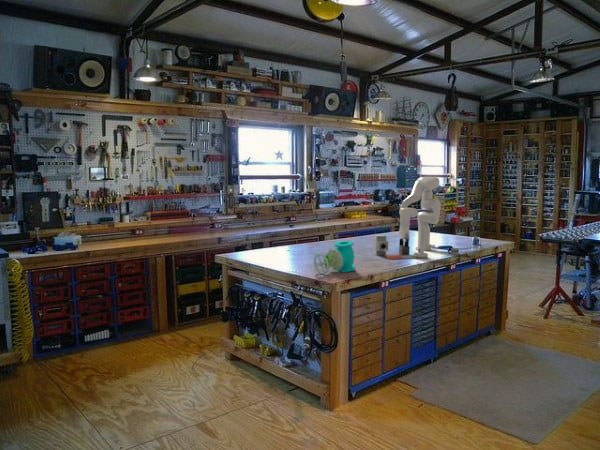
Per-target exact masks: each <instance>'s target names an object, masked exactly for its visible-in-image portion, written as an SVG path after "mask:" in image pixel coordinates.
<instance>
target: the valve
mask: <svg viewBox="0 0 600 450" xmlns="http://www.w3.org/2000/svg"><path fill="white" fill-rule="evenodd" d="M354 244H355V243H354V241H352V240H340V241H336V242H335V243H334V247H335V248H330V249H329V250H328V252H326V254H323V253H321V252H317V253H316V254H315V255H314V257H313V265H314V268H315V270H316V271H317V273H319V274H320V275H324V276H325V275H326V274H328V272H329V270H330V268H331V269H332V270H333V271H337V272H340V271H341V272H340V273H342V272H343V273H347V272H348V273H349V272H354V271H355V270H356V265H354V261H355V252H354V248H353V247H352V246H354ZM336 247H337V248H336ZM320 256H321V257H322V258H323V261H322V260H321V257H320ZM317 258H318V263H317ZM318 267H321V270H322V271H321V270H320V269H319V268H318Z"/></svg>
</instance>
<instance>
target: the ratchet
mask: <svg viewBox="0 0 600 450" xmlns="http://www.w3.org/2000/svg"><path fill="white" fill-rule="evenodd" d="M428 256H429V254H428V253H427V252H425V251H424V249H423V248H418V250H417V252H414V253H413V254H409V255H400V254H399V253H397V254H386V255H384V259H386V260H401V259H403V260H404V259H418V260H419V259H420V260H422V259H423V260H425V259H428Z"/></svg>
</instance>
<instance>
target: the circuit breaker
mask: <svg viewBox="0 0 600 450" xmlns="http://www.w3.org/2000/svg"><path fill="white" fill-rule="evenodd" d="M372 239H373V247H372V251H373V253H372V254H373V255H375V256H385V255H387V253H386V252H389V241H388V240H387V235H384V234H374V235H373V238H372Z"/></svg>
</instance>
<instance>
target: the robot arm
mask: <svg viewBox="0 0 600 450" xmlns="http://www.w3.org/2000/svg"><path fill="white" fill-rule="evenodd" d="M439 185H440V179H439V177H436V176H421V177H419V178H418V179H417V180H416V181H415V182H414V184H413V187H412V190H411V192H410V195H408V196H407V197H406V198H405V199H403V201H402V202H401V204H400V208H399V211H398V212H399V218H400V219H399V230H398V238H399V242H398V243H399V244H398V245H399V246H401V245H404V247H410V246H409V245H410V244H409V243H410V238H411V237H410V225H411V218H416V217H417V227H418V230H417V247H415V250H416V251H418V248H423V249H424V252H425V251H431V250H432V248H436V244H431V243H430V241H431V227H430V225H429V224H433V225H436V224H438V223H439V221H440V216H441V215H440V214H441V207H442V204H441V201H440V199H437V198H434V197H433V195H434V193H433V190H434V189H436V188H438V187H439ZM419 201H420V208H421V210H424V211H419V210H418V209H417V208H415V207H408V206H410V205H411V204H413V203H416V202H419Z"/></svg>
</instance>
